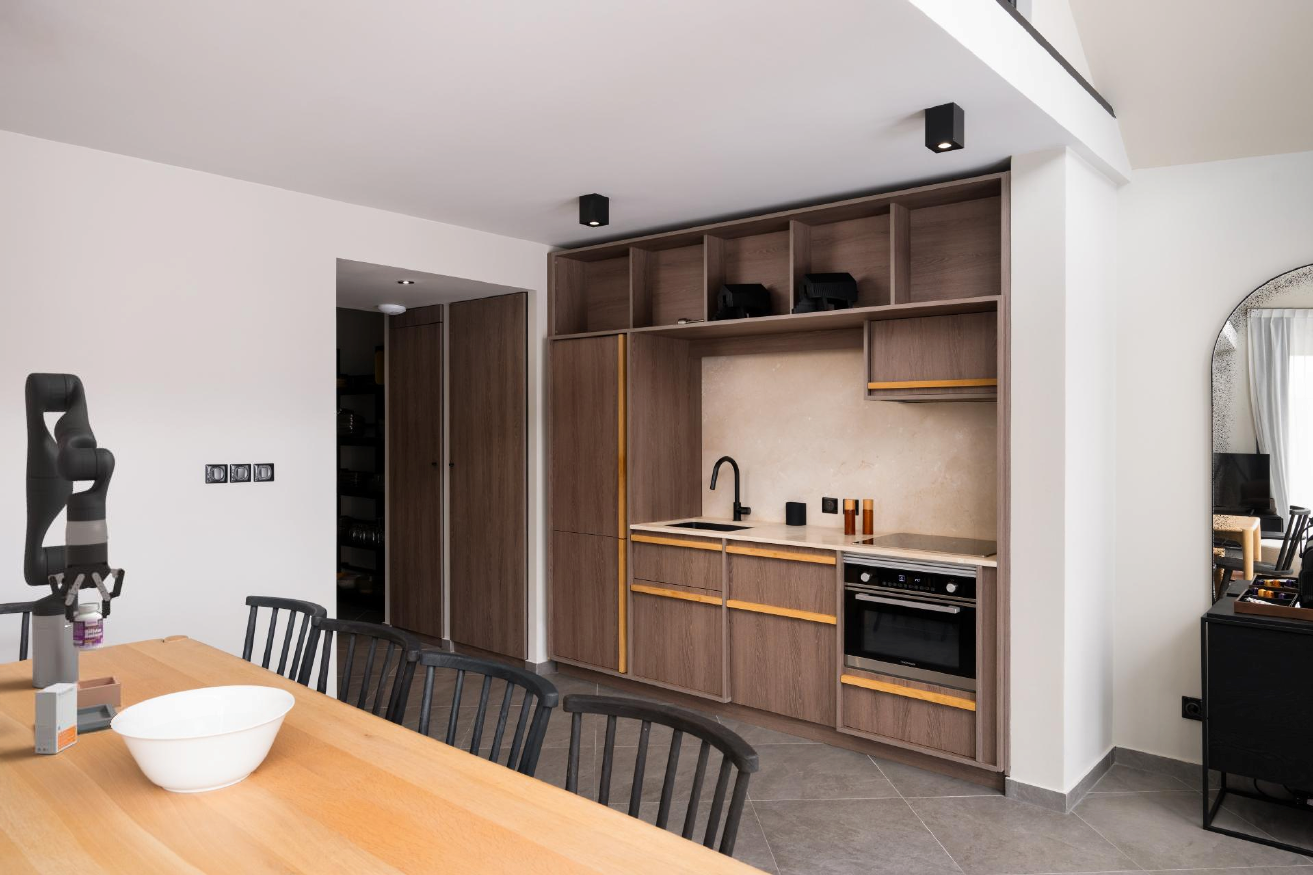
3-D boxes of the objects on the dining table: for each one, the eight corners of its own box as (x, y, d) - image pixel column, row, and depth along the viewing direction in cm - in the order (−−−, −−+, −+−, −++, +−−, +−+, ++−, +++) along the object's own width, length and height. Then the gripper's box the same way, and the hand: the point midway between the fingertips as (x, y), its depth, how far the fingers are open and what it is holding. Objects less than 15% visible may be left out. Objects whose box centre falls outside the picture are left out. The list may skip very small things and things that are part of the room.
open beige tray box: (73, 703, 193) (73, 681, 193) (115, 696, 198) (115, 675, 198) (77, 713, 187) (76, 690, 186) (120, 705, 192) (120, 683, 191)
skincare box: (56, 754, 164) (55, 692, 164) (34, 754, 164) (33, 692, 164) (78, 742, 170) (77, 682, 170) (57, 742, 170) (56, 682, 170)
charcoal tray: (44, 723, 180) (44, 713, 180) (111, 711, 188) (111, 702, 188) (48, 740, 171) (48, 730, 171) (118, 726, 179) (118, 717, 179)
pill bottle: (88, 652, 180) (87, 606, 180) (67, 651, 181) (66, 606, 181) (109, 646, 186) (108, 601, 186) (88, 645, 187) (87, 601, 187)
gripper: (123, 536, 191) (124, 612, 191) (44, 542, 182) (45, 622, 182) (128, 539, 185) (129, 618, 185) (47, 545, 176) (48, 628, 176)
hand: (87, 619), depth 183 cm, fingers closed on pill bottle, 5 cm apart
